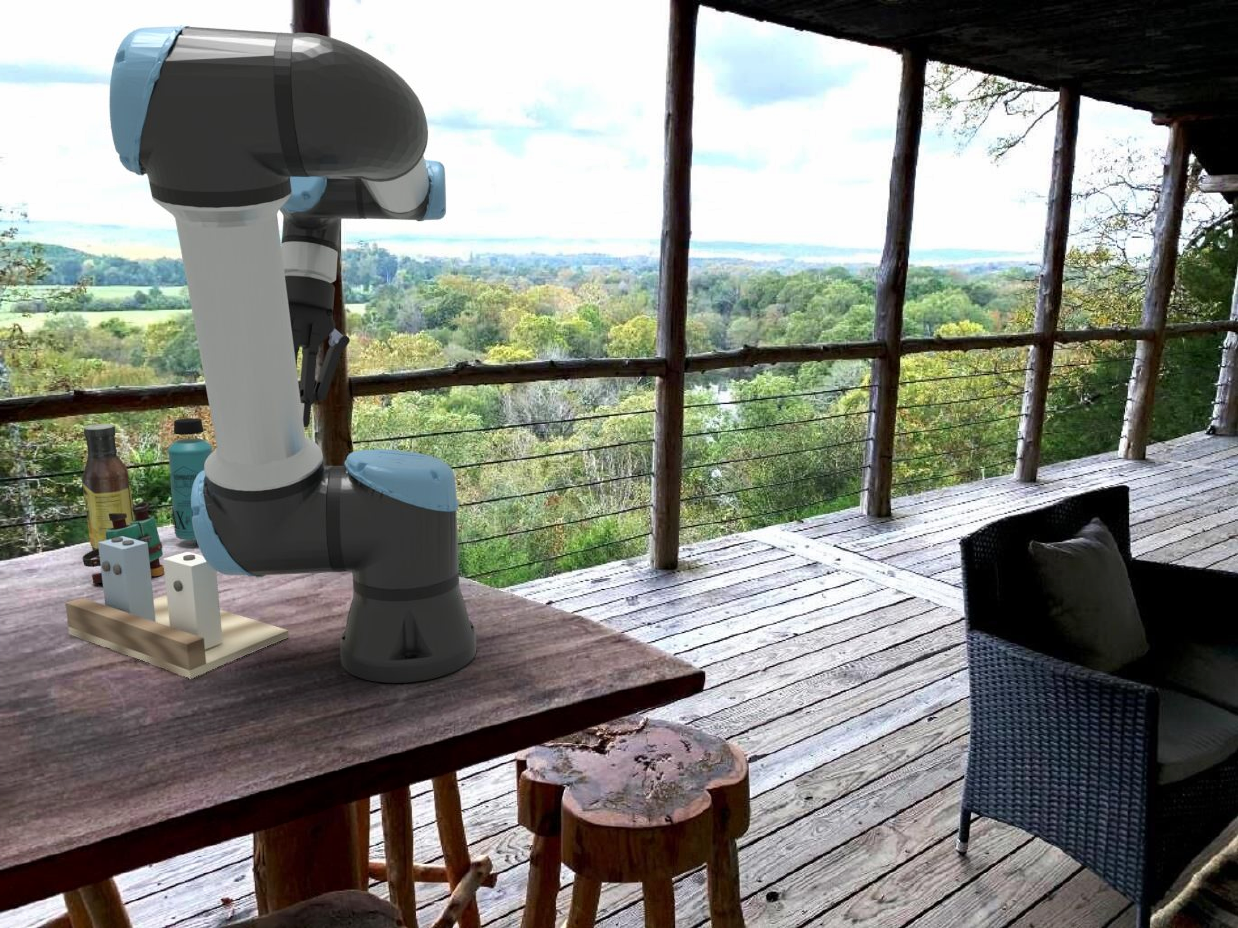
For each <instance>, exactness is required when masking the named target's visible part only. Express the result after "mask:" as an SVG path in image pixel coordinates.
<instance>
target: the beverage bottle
mask: <svg viewBox="0 0 1238 928" xmlns="http://www.w3.org/2000/svg"><path fill="white" fill-rule="evenodd" d="M201 433H204V428H203V421H202V419H201V418H194V417H192V418H191V417H188V418H181V419H179V418H178V419H176V420H174V422H173V434H174V435H179V436H180V435H182V436H183V435H187V436H188V435H196V434H197V435H198V434H201ZM167 452H168V461H169V474H170V475H169V477H168V478H169V483H170V488H171V489H170V495H171V499H170V501H171V505H172V508H171V510H172V512H171V513H172V521H173V522H172V523H173V530H174V534H175V537H176V538H177V539H180V540H185V541H186V540H187V541H188V540H192V541H194V540H196V537H195V533H194V529H193V524H192V517H193V510H192V508H191V492H192V487H193V483H194V481H195V478H196V477H197V475H198V474H199V473H200V472H201V471H203V470H205V468H204V465H205V461H206V459H207V458H208V456H209V455H210V454H211V453H212V452H213V446H212V445H211V444H210V442H208V441H206V440H204V439H202V438H185V439H178V440H175V441H173V442H172V444H170V445H169V446H168V448H167Z"/></svg>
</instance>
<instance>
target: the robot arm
mask: <svg viewBox="0 0 1238 928" xmlns="http://www.w3.org/2000/svg"><path fill="white" fill-rule="evenodd" d="M109 121H110V129H111V136H112V141H113V145H114V149H115V152H116V153H117V154H118V155H119V157H118V158H119V161H120V163H121V165H122V166H123V167H124V168H125V169H126V171H129V172H130V173H131V172H132V173H134V174H136V175H138V176H145V175H147V179H148V184H149V188H150V194H151V198H152V200H153V201H154V202H155V203H156V204H158V206H160V207H162V208H163V209H165V211H166V212H168V213H169V214H171V215H172V216H173V217H174V221H175V224H176V230H177V231H176V232H177V236H178V241H179V246H180V253H181V257H182V263H183V269H184V274H185V279H186V285H187V290H188V297H189V301H190V302H189V303H190V307H191V312H192V317H193V322H194V328H195V334H196V340H197V345H198V349H199V351H198V352H199V357H200V361H201V367H202V372H203V373H202V374H203V377H204V378H203V380H204V384H205V388H206V390H205V391H206V395H207V399H208V406H209V412H210V417H211V423H212V428H213V434H214V439H215V444H216V448H215V449H214V450H212V453H211V454H210V455H209V456H208V458H207V459H206V461H205V465H204V468H205V470H203V471H201V472H200V473H199V474H198V475H197V477H196V478H195V481H194V483H193V487H192V492H191V508H192V510H193V517H192V524H193V529H194V533H195V537H196V539H195V540H196V542H197V546H198V548H199V550H200V552H201V555H202V556H203V557H204V559H205V560H206V562H207V563H208V564H209V565H210V566H211V567H212V568H213V569H214V570H216V571H217V573H220V574H222V575H226V576H248V577H254V578H262V577H265V576H275V575H277V576H278V575H297V574H298V575H300V574H301V575H302V574H320V573H322V574H323V573H325V574H326V573H347V572H349V573H352V585H353V586H352V589H353V591H352V592H353V593H352V600H351V603H350V607H349V611H348V614H347V617H346V624H345V630H344V631H343V633H342V635H341V638H340V641H339V652H340V664H341V666H342V668H343V669H344V670H345V671H346V672H347V673H348V674H350V675H352V676H354V677H356V678H360V679H363V680H366V681H370V682H371V681H372V682H379V683H385V684H386V683H391V684H392V683H394V684H400V683H401V684H402V683H404V684H405V683H414V682H415V683H416V682H421V681H427V680H432V679H436V678H439V677H443V676H447V675H449V674H452V673H454V672H456V671H458V670H461V669H462V668H464V667H465V666H467V665H468V664H469V663H471V661H472V660H473V659H474V657H476V654H477V631H476V629H475V626H474V624H473V622H472V621H471V620H470V617H469V614H468V610H467V607H466V603H465V600H464V596H463V595H462V591H461V588H460V575H459V574H460V573H459V571H460V568H459V567H460V564H459V561H460V560H459V542H458V541H459V540H458V517H457V515H458V513H457V510H459V505H460V502H459V500H458V498H457V497H458V496H457V485H456V476H455V473H454V470H453V469H452V467H451V466H450V465H449V464H448V463H447V462H446V461H443V460H442V459H439V458H437V457H434V456H432V455H429V454H424V453H419V452H415V451H408V450H401V449H387V448H374V449H361V450H355V451H353V452H350V453H349V454H348V455H347V457H346V460H344V465H324V463H325V462H324V455H323V452H322V449H321V447H320V446H319V444H318V443H316V442H315V441H313V440H311V439H310V438H308V437H307V436H306V433H305V428H308V427H309V426H310V422H311V413H312V405H313V404H314V403H317V402H321V401H324V400H326V399H327V395H328V393H329V391H330V387H331V384H332V381H333V378H334V375H335V372H336V369H337V367H338V363H339V361H340V359H341V358H340V357H341V355H342V352H343V351H344V349H346V347H347V346H348V345H349V344H350V342H351V339H350V337H349V336H348V335H343V333H341V332H340V331H338V330H337V329H336V323H335V320H334V318H333V313H334V304H335V303H334V302H335V291H336V288H335V286H334V284H333V283H334V282H335V281H337V269H338V257H339V255H338V254H339V241H340V232H341V231H340V230H341V223H342V222H341V221H342V220H343V219H344V220H345V219H346V220H367V219H368V220H371V219H373V220H399V221H400V220H401V221H403V220H405V221H416V222H424V221H436V220H437V221H439V220H441V219H443V218H444V217H445V216H446V214H447V193H446V192H447V191H446V190H447V189H446V171H445V170H446V168H445V165H444V164H443V163H442V162H440V161H437V160H430V159H429V160H427V159H425V157H424V154H425V153H426V150H427V145H428V140H429V129H428V128H429V127H428V121H427V117H426V113H425V110H424V107H423V104H422V102H421V100H420V98H419V97H418V96H417V94H416V93H415V91H414V89H412V88H411V86H410V85H409V84H408V83H407V82H406V80H405V79H404V78H403V77H402V76H401V75H399V74H398V73H397V72H396V70H393V69H392V68H391V67H390V66H389V65H387V64H386V63H384V62H383V61H381V60H379V59H377V58H376V57H375V56H373V55H371V54H370V53H368V52H367V51H364V50H362V49H360V48H358V47H356V46H355V45H352V44H350V43H347V42H345V41H343V40H340V39H337V38H334V37H329V36H327V35H321V34H318V33H309V32H296V33H294V32H282V31H280V32H274V31H259V30H257V31H256V30H247V29H246V30H245V29H244V30H243V29H231V28H230V29H229V28H215V27H214V28H213V27H197V26H191V25H182V24H181V25H179V26H151V27H148V26H147V27H140V28H136V29H133V30H132V31H131V32H129V33H128V34H127V35H126V36H125V37H124V38H123V40H122V41H121V43H120V44H119V46H118V49H117V51H116V53H115V55H114V61H113V65H112V69H111V76H110V83H109ZM278 212H280V213H281V214H282V217H283V218H282V233H281V235H280V227H279V220H278ZM328 337H329V340H328V345H329V348H328V349H327V352H326V354H325V357H324V360H323V364H322V366H321V369H320V372H319V374H318V377H317V381H316V384H315V378H316V369H317V356H318V354H319V348H320V346H321V345H322V343H324V341H325V340H326V339H327V338H328ZM300 348H301V355H302V357H301V359H302V360H301V370H300V380H299V377H298V369H297V368H298V367H297V366H298V355H299V351H300ZM299 381H300V383H299Z"/></svg>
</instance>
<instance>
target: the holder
mask: <svg viewBox="0 0 1238 928" xmlns="http://www.w3.org/2000/svg"><path fill="white" fill-rule="evenodd" d="M153 600H154V609H155V619H156V622H154V621H151V620H148V619H145V618H142V617H139V616H136V615H133V614H130V613H127V612H124V611H121V610H118V609H115V608H112V607H109V606H106V605H105V604H104V603H99V602H96V601H93V600H90V599H87V598H84V597H80V598H77V599H73V600H70V601H66V602H65V610H66V612H65V613H66V618H67V626H68V628H67V629H68V634H69V635H70V636H73V637H76V638H79V639H81V640H84V641H86V642H89V643H92V644H94V643H95V645H97V646H99V645H100V646H99V647H102V648H105V647H108V648H110V649H113V650H115V651H114V652H116V651H117V652H116V653H118V652H120V653H119V654H121V653H122V655H124V654H125V655H124V656H126V655H128V656H127V657H129V656H132V657H135V658H137V659H140V660H143V661H145V662H149V663H151V664H153V665H156V666H160V667H162V668H165V669H166V670H165V671H167V670H169V671H171V672H170V673H172V672H174V673H173V674H175V673H177V674H178V676H180V675H182V676H181V677H183V676H185V677H184V678H186V677H188V678H189V680H192V679H194V677H195V678H196V676H197V677H199V676H202V675H204V674H206V672H207V671H209V670H211V671H213V670H212V669H214V668H216V667H217V666H221V665H223V664H225V663H226V662H229V661H231V660H234V659H236V658H238V657H240V656H244V655H246V654H248V653H251V652H252V651H255V650H257V649H259V648H261V647H266V648H268V647H267V646H269V645H271V644H274V643H276V642H278V641H281V640H283V639H286V638H288V639H289V638H290V635H289V634H290V633H289V629H286V628H284V627H283V628H282V627H278V626H275V625H273V624H270V623H269V624H268V623H266V622H262V621H259V620H257V619H252V618H249V617H245V616H243V615H239V614H236V613H233V612H229V611H226V610H224V609H220V617H221V628H222V640H223V643H220V644H218V645H215V646H213V647H210V648H208V649H205V646H204V638H202V637H199V636H196V635H193V634H190V633H187V632H184V631H181V630H178V629H175V628H172V627H170V622H169V612H168V602H167V594H164V595H161V596H158V597H155V598H153ZM286 640H287V639H286ZM283 641H284V640H283ZM281 642H282V641H281ZM278 643H279V642H278ZM276 644H277V643H276ZM274 645H275V644H274ZM271 646H272V645H271ZM269 647H270V646H269ZM110 649H109V650H110ZM113 650H112V651H113ZM132 657H131V658H132ZM137 659H136V660H137ZM140 660H139V661H140ZM145 662H144V663H145ZM151 664H150V665H151ZM153 665H152V666H153ZM156 666H155V667H156ZM223 666H224V665H223ZM221 667H222V666H221ZM216 669H217V668H216ZM214 670H215V669H214ZM169 671H168V672H169ZM209 672H210V671H209ZM207 673H208V672H207ZM177 674H176V675H177ZM198 675H199V676H198ZM188 678H187V679H188ZM191 678H192V679H191Z"/></svg>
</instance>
